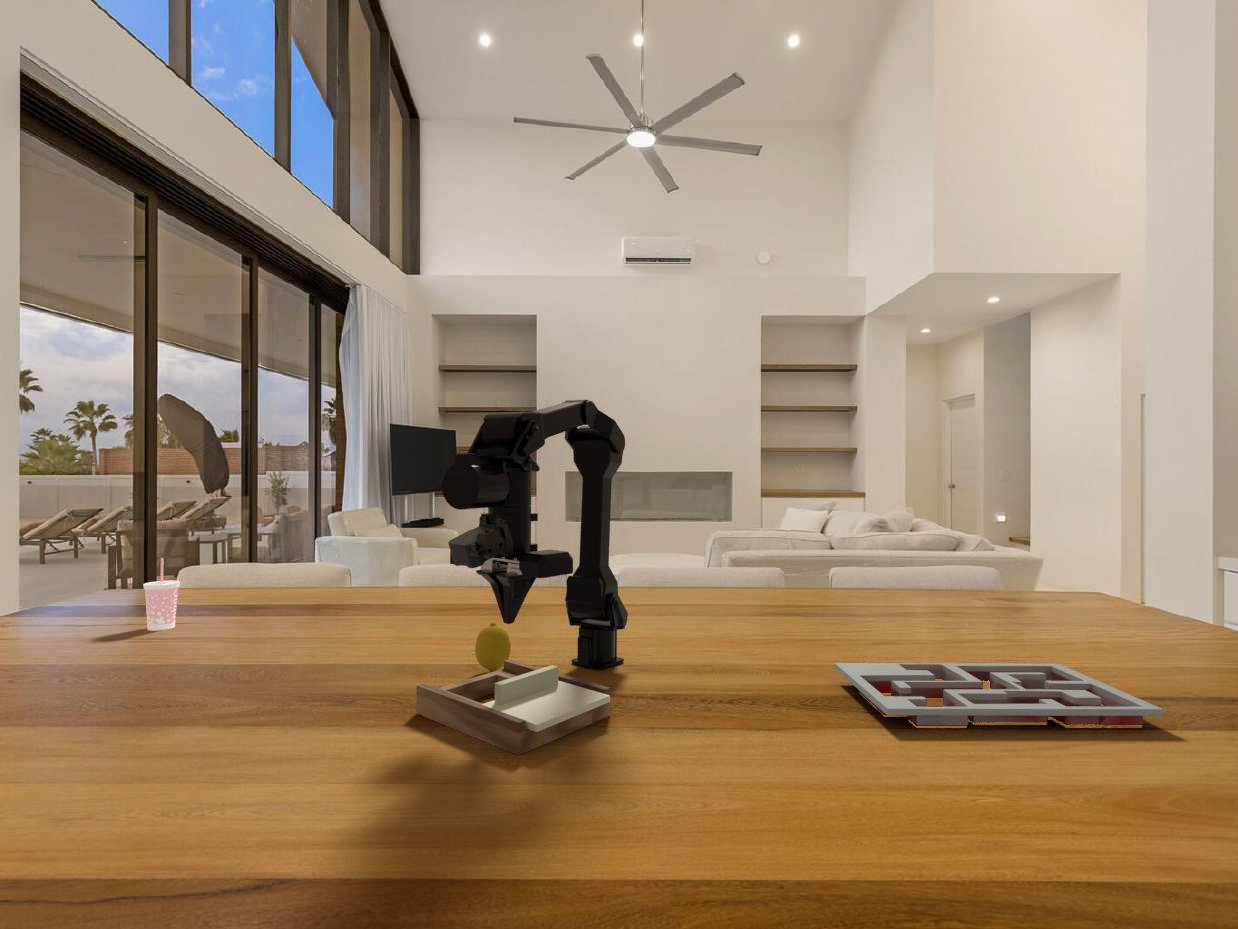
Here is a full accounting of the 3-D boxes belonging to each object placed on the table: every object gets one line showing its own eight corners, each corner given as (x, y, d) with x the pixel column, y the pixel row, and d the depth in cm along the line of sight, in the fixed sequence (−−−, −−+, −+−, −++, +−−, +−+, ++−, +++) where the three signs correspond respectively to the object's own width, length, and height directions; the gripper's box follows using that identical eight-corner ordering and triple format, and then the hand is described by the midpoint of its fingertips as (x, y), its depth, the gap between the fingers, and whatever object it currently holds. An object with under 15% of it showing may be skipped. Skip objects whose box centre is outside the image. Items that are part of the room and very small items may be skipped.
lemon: (502, 679, 103) (503, 627, 103) (469, 677, 104) (469, 625, 104) (515, 669, 108) (515, 619, 108) (483, 666, 109) (483, 617, 109)
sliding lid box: (508, 683, 101) (508, 659, 101) (609, 715, 88) (610, 687, 88) (416, 713, 88) (416, 685, 88) (518, 755, 76) (519, 723, 76)
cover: (554, 685, 92) (555, 661, 92) (610, 701, 86) (610, 676, 86) (480, 711, 82) (480, 684, 82) (536, 732, 76) (536, 703, 76)
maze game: (1058, 684, 104) (1058, 663, 104) (1163, 734, 84) (1163, 709, 84) (834, 683, 103) (834, 663, 103) (887, 734, 84) (887, 708, 84)
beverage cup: (166, 631, 131) (166, 560, 131) (134, 631, 131) (135, 559, 131) (186, 624, 137) (187, 556, 137) (157, 624, 137) (157, 555, 137)
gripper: (416, 505, 89) (415, 622, 89) (509, 512, 77) (508, 647, 77) (483, 502, 98) (482, 609, 97) (576, 508, 86) (575, 630, 85)
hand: (508, 623), depth 89 cm, fingers closed
